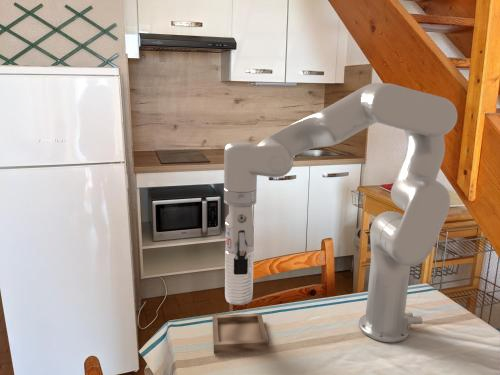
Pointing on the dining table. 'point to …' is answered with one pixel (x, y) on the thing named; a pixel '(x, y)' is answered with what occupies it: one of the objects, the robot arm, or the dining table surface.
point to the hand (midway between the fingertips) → (239, 266)
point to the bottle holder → (239, 333)
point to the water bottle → (237, 285)
